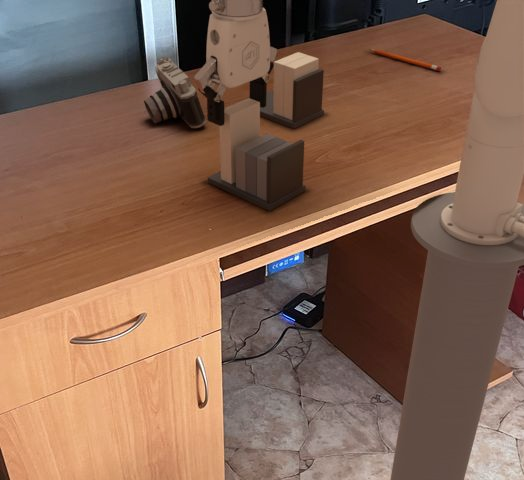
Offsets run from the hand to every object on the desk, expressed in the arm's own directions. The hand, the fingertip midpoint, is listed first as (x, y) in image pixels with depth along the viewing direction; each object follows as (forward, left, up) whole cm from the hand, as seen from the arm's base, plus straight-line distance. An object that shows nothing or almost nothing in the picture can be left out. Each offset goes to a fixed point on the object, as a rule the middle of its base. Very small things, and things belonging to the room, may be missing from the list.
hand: (237, 113), depth 126 cm
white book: (0, 0, -11) cm, 11 cm away
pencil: (+11, -65, -12) cm, 67 cm away
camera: (+27, -9, -12) cm, 31 cm away
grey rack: (-4, 0, -12) cm, 12 cm away
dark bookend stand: (+13, -26, -12) cm, 31 cm away
